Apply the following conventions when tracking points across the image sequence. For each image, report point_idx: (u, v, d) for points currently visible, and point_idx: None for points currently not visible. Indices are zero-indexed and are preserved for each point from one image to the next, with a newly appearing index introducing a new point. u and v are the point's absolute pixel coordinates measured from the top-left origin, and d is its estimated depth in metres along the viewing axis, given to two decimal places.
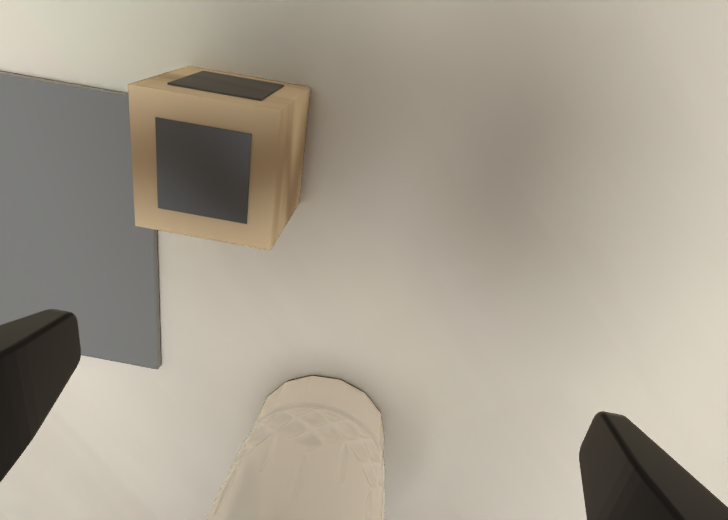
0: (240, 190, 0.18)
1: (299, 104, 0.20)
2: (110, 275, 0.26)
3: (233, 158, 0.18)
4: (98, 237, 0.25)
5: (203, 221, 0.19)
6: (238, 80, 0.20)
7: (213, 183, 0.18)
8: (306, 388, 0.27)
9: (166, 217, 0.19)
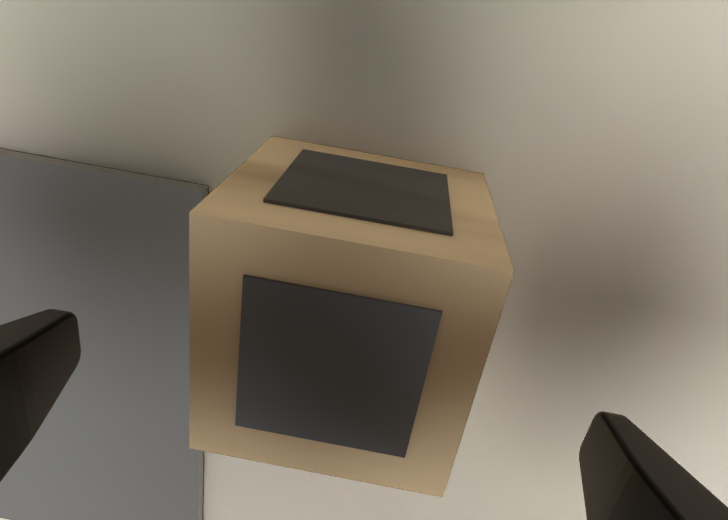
0: (401, 403, 0.09)
1: None
2: (130, 439, 0.17)
3: (396, 350, 0.09)
4: (112, 388, 0.16)
5: (320, 448, 0.10)
6: (373, 172, 0.11)
7: (348, 390, 0.09)
8: None
9: (249, 438, 0.10)
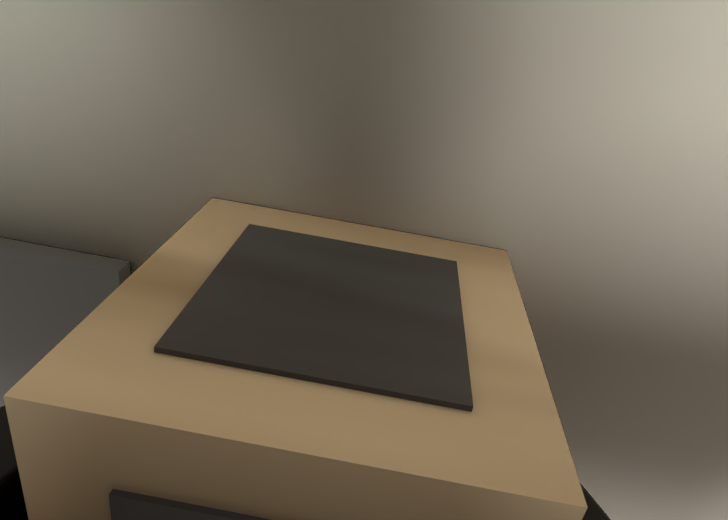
0: None
1: None
2: None
3: None
4: None
5: None
6: (349, 265, 0.07)
7: None
8: None
9: None
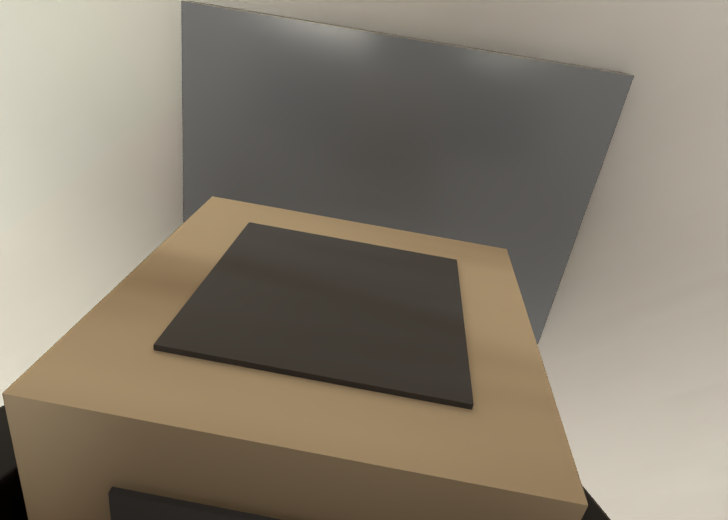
0: None
1: None
2: (447, 119, 0.17)
3: None
4: (384, 123, 0.18)
5: None
6: (349, 263, 0.07)
7: None
8: None
9: None
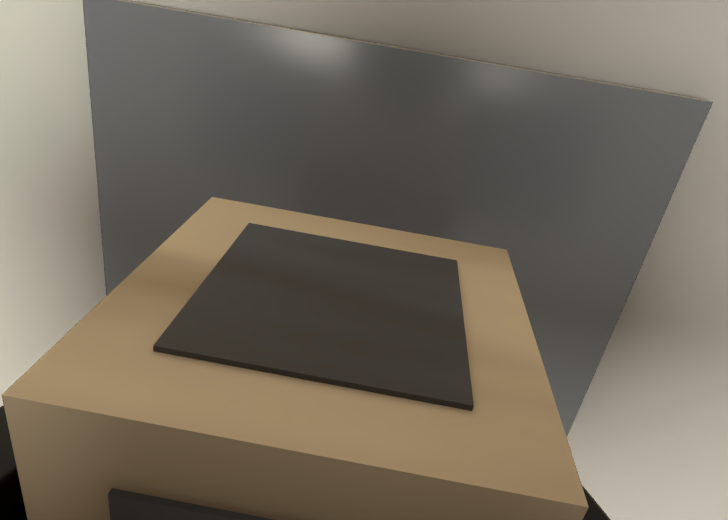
0: None
1: None
2: (450, 158, 0.13)
3: None
4: (365, 162, 0.13)
5: None
6: (349, 264, 0.07)
7: None
8: None
9: None
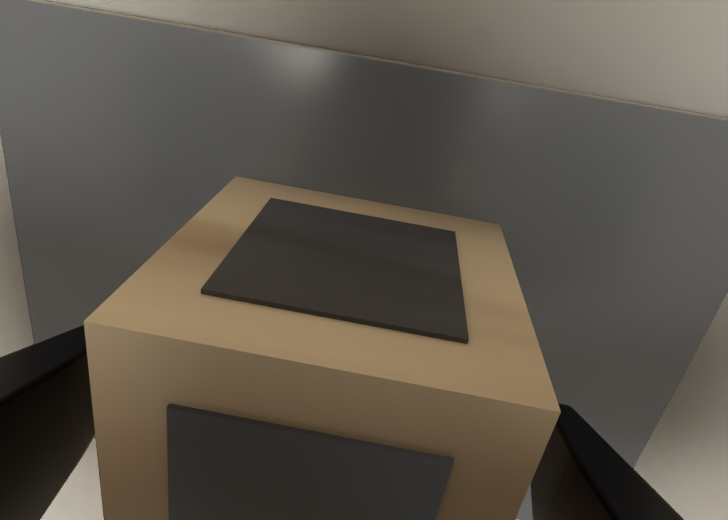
0: None
1: None
2: (460, 204, 0.10)
3: (386, 503, 0.06)
4: None
5: None
6: (360, 232, 0.08)
7: None
8: None
9: None
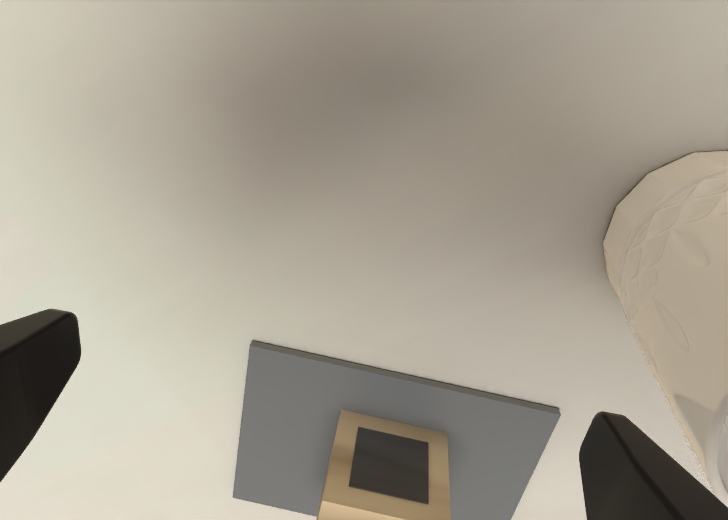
0: None
1: None
2: (431, 425, 0.25)
3: None
4: None
5: None
6: (393, 447, 0.23)
7: None
8: (610, 256, 0.19)
9: None
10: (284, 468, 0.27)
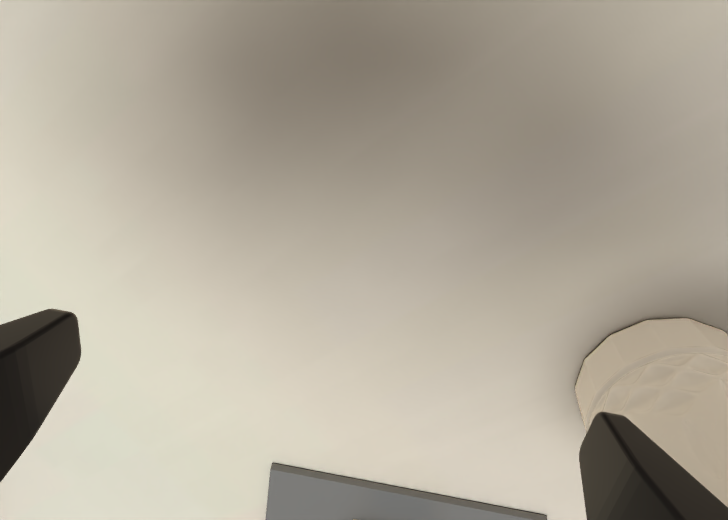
0: None
1: None
2: None
3: None
4: None
5: None
6: None
7: None
8: (580, 405, 0.22)
9: None
10: None
